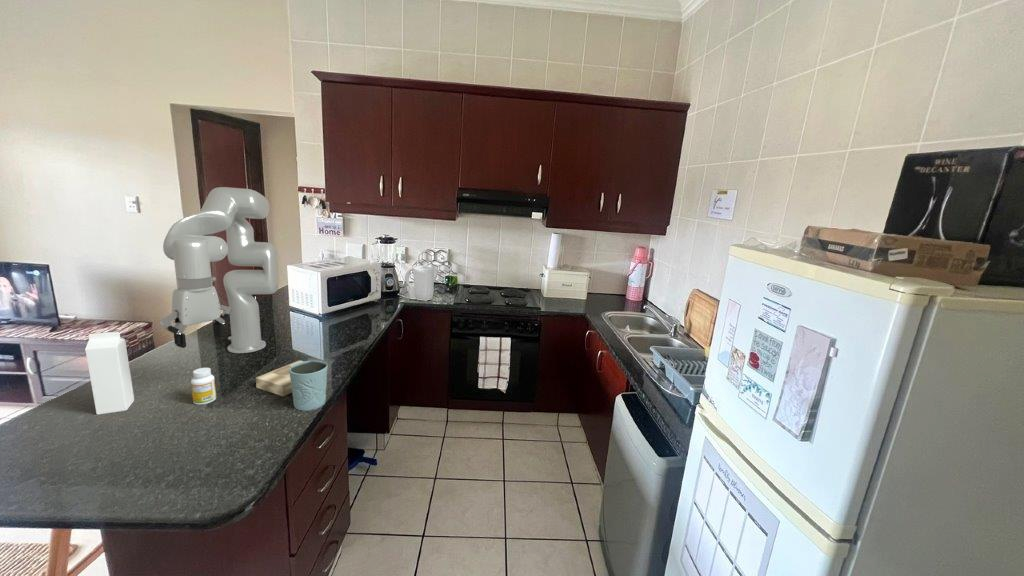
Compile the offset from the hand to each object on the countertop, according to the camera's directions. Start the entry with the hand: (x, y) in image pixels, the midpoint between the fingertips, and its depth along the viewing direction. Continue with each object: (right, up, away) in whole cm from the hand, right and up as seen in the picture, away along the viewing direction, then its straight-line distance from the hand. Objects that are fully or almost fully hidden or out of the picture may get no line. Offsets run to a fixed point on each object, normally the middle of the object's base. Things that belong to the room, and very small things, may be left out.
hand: (200, 341), depth 108 cm
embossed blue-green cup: (+28, -20, +7) cm, 35 cm away
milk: (-21, -18, -3) cm, 28 cm away
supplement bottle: (-2, -18, +4) cm, 19 cm away
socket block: (+16, -16, +18) cm, 29 cm away
